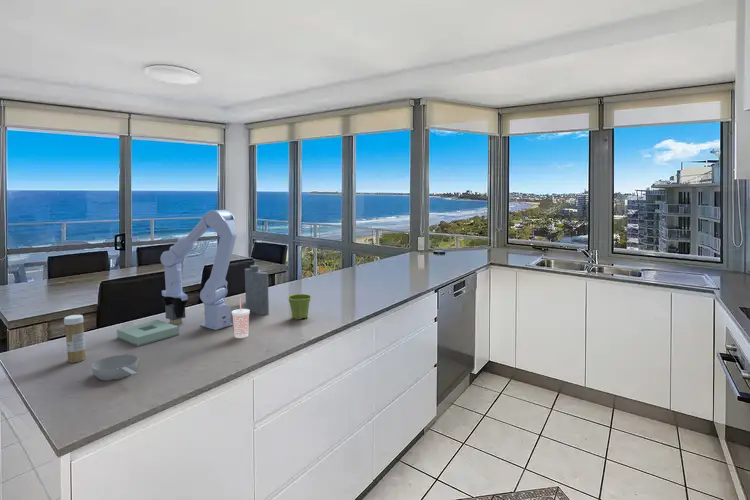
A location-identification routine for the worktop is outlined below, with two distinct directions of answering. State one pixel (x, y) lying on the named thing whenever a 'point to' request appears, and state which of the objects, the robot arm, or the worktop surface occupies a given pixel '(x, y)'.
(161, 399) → the worktop surface
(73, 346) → the sprinkles bottle
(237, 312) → the beverage cup
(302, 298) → the plant pot
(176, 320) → the plug
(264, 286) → the hip flask
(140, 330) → the socket block
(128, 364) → the small pan
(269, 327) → the worktop surface
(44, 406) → the worktop surface
